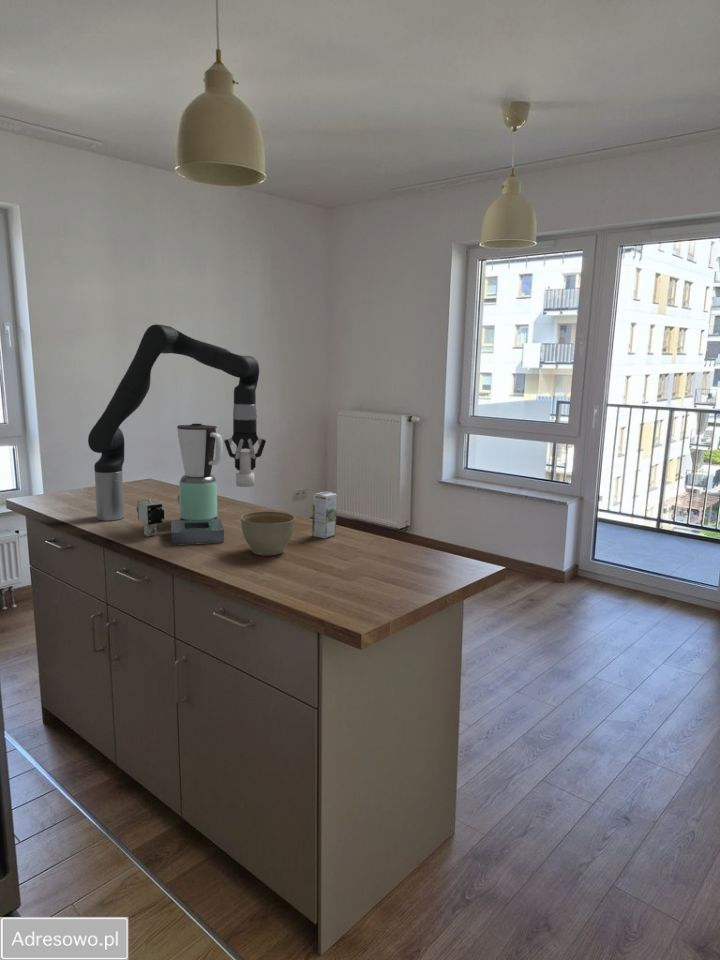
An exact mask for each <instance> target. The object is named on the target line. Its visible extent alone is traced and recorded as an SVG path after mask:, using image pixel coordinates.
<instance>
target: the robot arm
mask: <svg viewBox="0 0 720 960" xmlns="http://www.w3.org/2000/svg"><path fill="white" fill-rule="evenodd" d="M140 340H141V341H140V342H139V345H138V347H137V350H136V353H135V354H134V357H133V359H132V361H131V362H130V364H129V366H128V368H127V370H126V372H125V374H124V376H123V377H122V378H121V381H120V382H119V384H118V386H117V387H116V390H115V392H114V394H113V395H112V397H111V399H110V400H109V402H108V404H107V406H106V408H105V410H104V411H103V413H102V415H101V416H100V418H99V419H98V420H97V422H96V423H95V424H94V426H93V427H92V428H91V430H90V431H89V434H88V438H87V443H88V447H89V448H90V450H91V451H92V452H94V453H98V454H101V456H100V458H99V459H98V460H97V461H96V462H95V463H94V466H93V467H94V468H93V470H94V482H95V483H94V485H95V486H94V487H95V508H96V510H95V511H96V519H97V520H99V521H104V522H105V521H106V522H107V521H109V522H110V521H117V520H121V519H123V518H125V503H124V482H123V481H124V478H123V465H124V463H125V436H124V433H123V431H122V429H121V428H120V426H121V424H122V423H124V421H125V420H126V419H127V418H129V417H130V416H131V415H132V414H133V413H134V412H135V411H136V410H137V409H138V408H140V406H141V405H142V403H143V401H144V400H145V398H146V396H147V394H148V393H149V390H150V387H151V377H152V376H151V373H152V369H153V367H154V365H155V363H156V361H157V360H158V359H159V356H160V355H161V354H174V355H182V356H185V357H189V358H192V359H193V360H195V361H197V362H198V363H200V364H202V365H205V366H208V367H210V368H213V369H217V370H220V371H222V372H224V373H226V374H227V375H230V376H233V377H235V378H237V379H238V378H239V380H238V381H239V382H238V385H236V386H235V387H234V389H233V408H232V419H233V421H232V423H233V425H232V430H233V431H232V432H233V433H232V435H231V437H230V438H226V439H225V438H224V440H223V441H224V442H223V443H224V445H225V448H226V451H227V454H228V456H229V457H230V458H233V459H234V467H235V470H236V471H239V470H240V459H239V455H240V452H242V450H244V449H247V450H249V451H248V452H251V471H253V470H254V469H256V468H257V467H256V463H257V461H256V460H257V458H260V457H261V456H262V454H263V452H264V451H263V450H264V448H265V445H266V443H267V441H266V440H265V439H264V438H259V436H258V435H257V433H258V432H257V423H258V422H257V418H258V415H257V407H256V403H257V401H256V400H257V399H256V395H257V394H256V391H257V387H258V381H259V376H260V364H259V362H258V360H257V359H256V357H254V356H252V355H251V356H250V355H241V354H236V353H233V352H231V351H230V350H229V349H227V348H223V347H221V346H218V345H215V344H212V343H208V342H204V341H201V340H199V339H195V338H193V337H191V336H188V335H186V334H185V333H183V332H181V331H179V330H177V329H176V328H175V327H174V328H173V327H172V326H169V325H164V324H158V323H157V324H156V323H155V324H152V325H150V326H149V327H148V328H147V329H146V330H145V332H144V334H143V335H142V338H141V339H140ZM232 442H233V443H234V444H235V446H236V449H235V452H233V451H232V447H231V446H232ZM256 443H258V445H259V446H258V448H257V451H256V452H255V449H254V446H255V445H256Z"/></svg>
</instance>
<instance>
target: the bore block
mask: <svg viewBox="0 0 720 960" xmlns="http://www.w3.org/2000/svg"><path fill="white" fill-rule="evenodd" d="M170 526H171V527H170V528H171V529H170V531H171V532H170V535H171V536H170V537H171V539H170V540H171V546H181V545H180V544H187V545H198V544H197V543H206V544H222V543H221V542H224V543H225V529H224V526H223V523H222V520H221V518H217V519H202V520H171V521H170Z"/></svg>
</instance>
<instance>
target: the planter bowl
mask: <svg viewBox="0 0 720 960" xmlns="http://www.w3.org/2000/svg"><path fill="white" fill-rule="evenodd" d="M295 520H296V517H295V516H294V515H293V514H291V513H287V512H284V511H283V512H282V511H272V510H270V511H269V510H266V511H265V510H262V511H261V510H260V511H253V512H248V513H245V514H242V515H241V516H240V522H241V530H242V534H243V537H244V540H245V541H246V543H247V544H248V546H249V547H250V549H251V553H252V554H255V555H257V556H277V555H280V554H282V553H283V552H284V550H285V547H286V546H287V545H288V543H289V542H290V540H291V537H292V535H293V532H294V528H295V522H296V521H295Z"/></svg>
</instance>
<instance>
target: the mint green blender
mask: <svg viewBox="0 0 720 960" xmlns="http://www.w3.org/2000/svg"><path fill="white" fill-rule="evenodd" d="M176 427H177V439H178V442H179V443H178V444H179V449H180V454H181V459H182V465H183V471H184V474H183V475H182V477H180V480H179V482H178V483H179V485H178V486H179V487H178V491H179V492H178V496H177V503H178V504H179V519H180V520H202V519H218V484H217V479H216V477H215V476H214V475H213V474H212V468H213V466H217V465H219V464H220V463H221V462H222V460H223V448H224V447H223V445H224V444H223V443H224V442H223V438H222V435H221V434H219V433H218V432H217V428H218V427H217V426H216V425H209V424H207V425H206V424H202V423H191V424H179V425H177V426H176ZM214 455H215V457H214Z"/></svg>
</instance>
